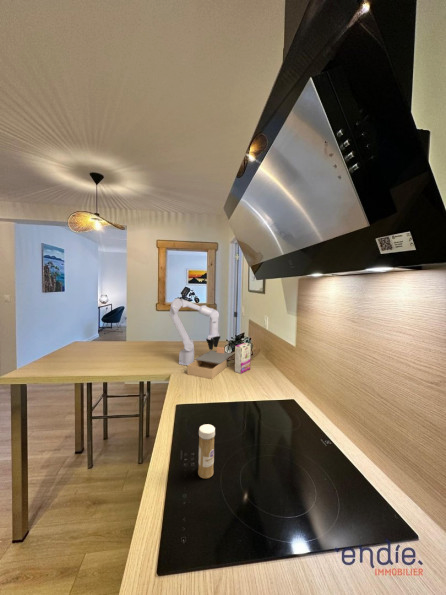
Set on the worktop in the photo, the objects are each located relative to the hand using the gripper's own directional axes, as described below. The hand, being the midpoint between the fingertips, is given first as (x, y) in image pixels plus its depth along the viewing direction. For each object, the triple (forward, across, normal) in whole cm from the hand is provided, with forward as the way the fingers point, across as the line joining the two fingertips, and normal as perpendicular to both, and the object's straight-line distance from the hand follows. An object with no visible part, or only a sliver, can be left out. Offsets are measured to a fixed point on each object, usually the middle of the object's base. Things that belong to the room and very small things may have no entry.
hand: (213, 348), depth 169 cm
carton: (+10, -14, -3) cm, 18 cm away
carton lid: (+5, -4, -3) cm, 7 cm away
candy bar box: (+11, -4, -22) cm, 25 cm away
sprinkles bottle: (+11, -89, -38) cm, 97 cm away
